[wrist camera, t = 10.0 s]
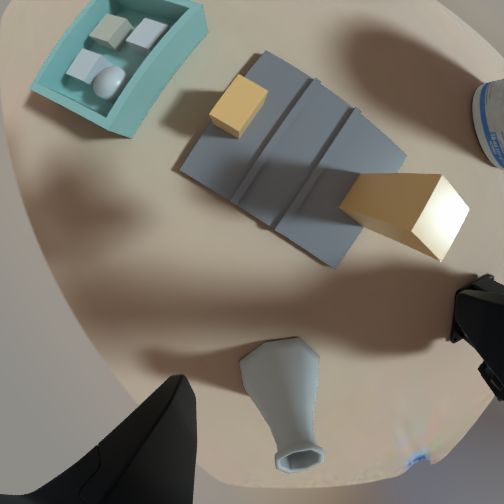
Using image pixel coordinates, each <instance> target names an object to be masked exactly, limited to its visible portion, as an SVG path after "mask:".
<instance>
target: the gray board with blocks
mask: <svg viewBox="0 0 504 504" xmlns="http://www.w3.org/2000/svg"><path fill="white" fill-rule="evenodd" d="M320 83H321V81H320V80H318V79H317V78H315V79H312V78H311V77H309V76H308V75H306V74H305V73H303V72H302V71H300V70H298V69H297V68H295V67H294V66H292V65H290V64H289V63H287V62H285V61H284V60H282V59H280V58H279V57H277V56H275V55H273V54H271V53H270V52H268V51H265V52H264V53H263V54H262V55H261V57H260V58H259V59H258V60H257V61H256V63H255V64H254V65H253V66H252V68H251V69H250V70H249V71H248V73H247V74H246V75H245V76H244V77H243V76H241V75H239V74H238V76H237V77H236V78H235V79H234V81H233V82H232V83H231V85H230V86H229V87H228V89H227V90H226V91H225V93H224V94H223V95H222V97H221V98H220V99H219V101H218V102H217V103H216V105H215V106H214V108H213V109H212V110H211V112H210V113H209V115H210V117H211V120H212V121H211V122H210V124H209V125H208V127H207V128H206V130H205V131H204V133H203V134H202V136H201V137H200V139H199V140H198V142H197V143H196V145H195V146H194V148H193V149H192V151H191V153H190V154H189V156H188V157H187V159H186V160H185V162H184V164H183V165H182V167H181V168H180V171H182V172H184V173H185V174H187V175H188V176H190V177H192V178H193V179H195V180H197V181H198V182H200V183H202V184H203V185H205V186H207V187H208V188H210V189H211V190H213V191H215V192H216V193H218V194H219V195H221V196H223V197H224V198H226V199H227V200H229V201H230V202H231V203H233V204H235V205H237V206H239V207H240V208H242V209H243V210H245V211H247V212H248V213H250V214H251V215H253V216H254V217H256V218H257V219H259V220H261V221H262V222H264V223H265V224H267V225H268V226H270V227H271V228H273V229H274V230H275V231H277V232H278V233H280V234H282V235H284V236H285V237H287V238H288V239H290V240H291V241H293V242H294V243H296V244H297V245H299V246H300V247H302V248H304V249H305V250H307V251H308V252H310V253H311V254H313V255H314V256H316V257H317V258H318V259H320V260H321V261H323V262H324V263H326V264H327V265H329V266H330V267H332V268H333V269H336V267H337V266H338V265H339V263H340V262H341V260H342V259H343V257H344V256H345V255H346V253H347V252H348V250H349V249H350V247H351V246H352V244H353V243H354V241H355V240H356V238H357V237H358V235H359V234H360V232H361V231H362V229H363V228H364V227H365V228H367V229H370V230H372V231H374V232H377V233H379V234H382V235H384V236H386V237H388V238H391V239H393V240H395V241H398V242H400V243H402V244H404V245H407V246H409V247H411V248H413V249H415V250H418V251H420V252H422V253H424V254H426V255H428V256H430V257H432V258H435V259H437V260H439V261H442V260H443V258H444V256H445V255H446V253H447V251H448V249H449V248H450V246H451V244H452V242H453V240H454V239H455V237H456V235H457V233H458V231H459V229H460V227H461V225H462V223H463V221H464V219H465V217H466V215H467V213H468V211H469V208H468V207H467V205H466V204H465V202H464V201H463V200H462V199H461V197H460V196H459V195H458V193H457V192H456V191H455V190H454V188H453V187H452V186H451V185H450V183H449V182H448V181H447V180H446V179H445V177H444V176H443V175H441V174H412V173H397V172H398V171H399V169H400V167H401V165H402V164H403V162H404V160H405V158H406V156H407V155H406V154H405V153H404V152H403V151H402V150H401V149H400V148H399V147H398V146H397V145H396V144H395V143H394V142H392V141H391V140H390V139H389V138H388V137H387V136H386V135H385V134H384V133H383V132H381V131H380V130H379V129H378V128H377V127H376V126H375V125H373V124H372V123H371V122H370V121H369V120H367V119H366V118H365V117H364V116H363V115H361V114H360V113H361V111H360V110H359V109H358V108H356V107H355V108H353V107H351V106H350V105H349V104H347V103H346V102H345V101H343V100H342V99H341V98H339V97H338V96H337V95H335V94H334V93H333V92H331V91H330V90H328V89H327V88H326V87H324V86H323V85H321V84H320Z"/></svg>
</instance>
